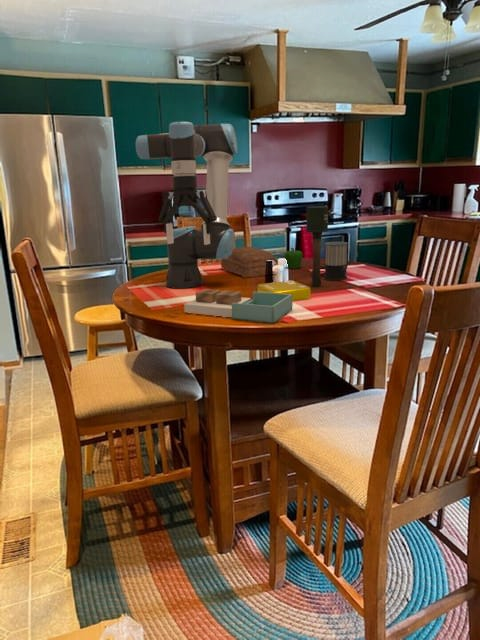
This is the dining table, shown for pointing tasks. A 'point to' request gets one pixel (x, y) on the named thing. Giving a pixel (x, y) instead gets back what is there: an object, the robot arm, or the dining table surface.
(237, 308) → the tray
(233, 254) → the bread
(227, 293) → the front tile
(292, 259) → the bell pepper
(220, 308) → the board
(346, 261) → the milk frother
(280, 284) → the element tile
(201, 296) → the rear tile
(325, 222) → the stick grenade
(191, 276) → the robot arm
